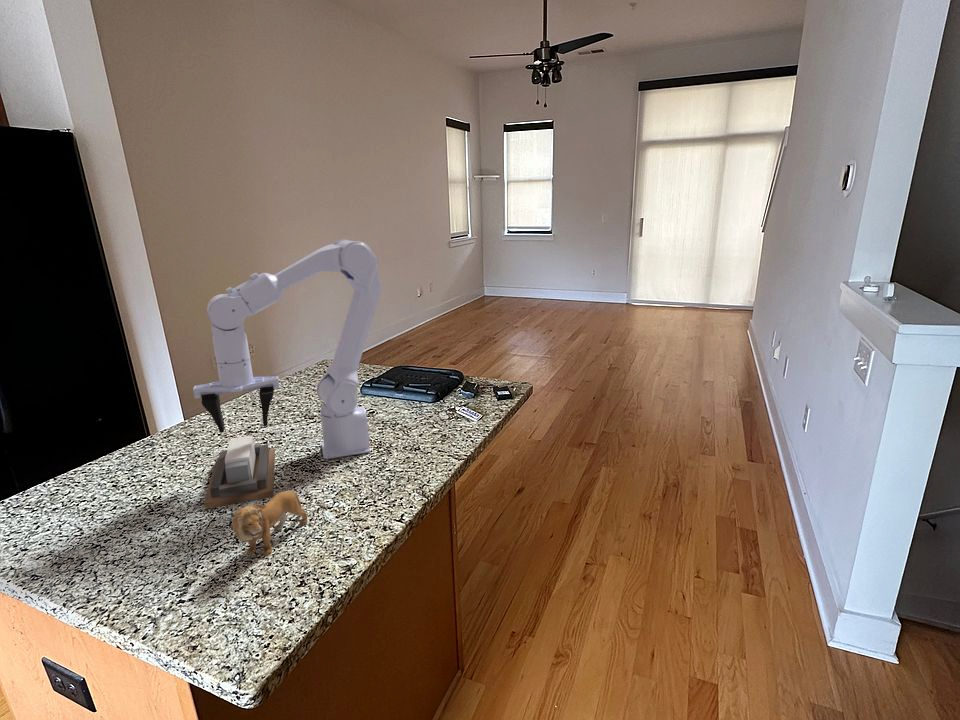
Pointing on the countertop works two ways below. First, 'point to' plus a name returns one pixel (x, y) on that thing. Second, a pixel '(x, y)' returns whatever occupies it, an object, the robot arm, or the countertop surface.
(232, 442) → the white pillar grey cap
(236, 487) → the cradle jig
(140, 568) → the countertop surface
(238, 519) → the lion figurine
